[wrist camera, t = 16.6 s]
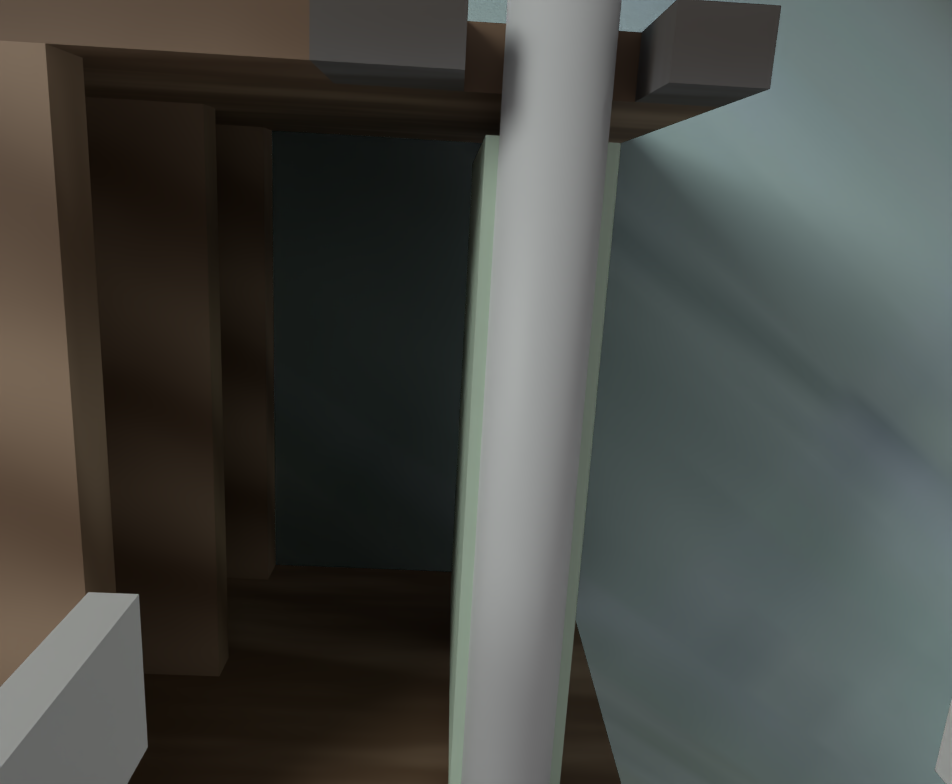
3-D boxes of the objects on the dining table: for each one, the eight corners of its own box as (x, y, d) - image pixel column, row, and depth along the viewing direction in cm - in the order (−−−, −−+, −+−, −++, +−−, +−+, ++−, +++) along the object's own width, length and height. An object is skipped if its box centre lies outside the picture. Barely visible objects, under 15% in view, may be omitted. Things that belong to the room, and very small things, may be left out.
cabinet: (560, 603, 38) (650, 957, 20) (109, 586, 37) (-210, 937, 19) (604, 113, 32) (781, 5, 15) (77, 80, 32) (-409, -74, 14)
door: (535, 662, 35) (587, 964, 21) (446, 659, 35) (441, 961, 21) (584, 73, 29) (702, -46, 15) (477, 66, 29) (498, -60, 15)
